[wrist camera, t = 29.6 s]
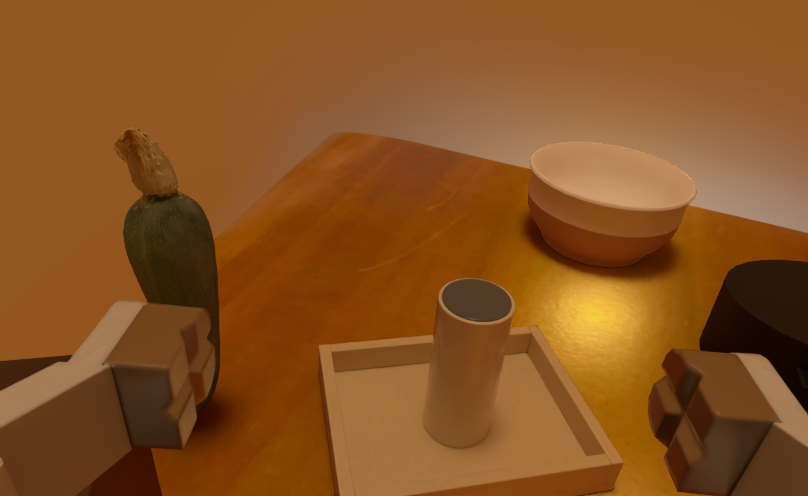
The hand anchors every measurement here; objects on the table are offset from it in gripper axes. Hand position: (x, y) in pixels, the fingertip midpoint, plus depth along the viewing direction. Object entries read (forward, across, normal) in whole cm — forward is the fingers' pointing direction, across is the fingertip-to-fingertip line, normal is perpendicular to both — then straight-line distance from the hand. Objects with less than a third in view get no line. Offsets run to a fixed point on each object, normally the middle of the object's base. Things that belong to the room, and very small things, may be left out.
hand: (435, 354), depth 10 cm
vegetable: (+18, +13, +23) cm, 32 cm away
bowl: (+46, -19, +23) cm, 55 cm away
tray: (+19, -4, +23) cm, 30 cm away
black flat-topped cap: (+26, -33, +23) cm, 48 cm away
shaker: (+19, -4, +22) cm, 29 cm away
